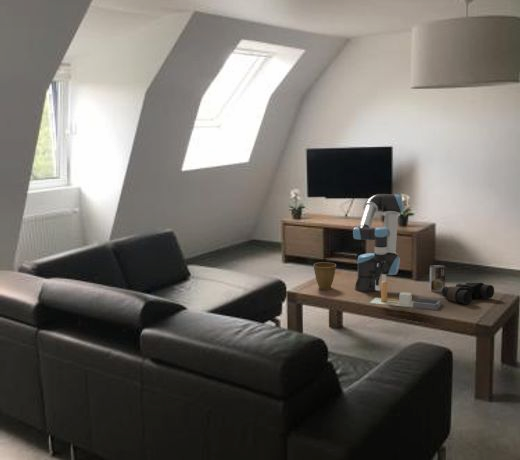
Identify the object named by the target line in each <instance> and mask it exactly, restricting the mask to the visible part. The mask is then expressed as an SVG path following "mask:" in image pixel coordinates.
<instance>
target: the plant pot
mask: <svg viewBox="0 0 520 460" xmlns="http://www.w3.org/2000/svg"><path fill="white" fill-rule="evenodd" d="M336 269H337V264H336V263H334V262H325V261H323V262H322V261H321V262H316V263H314V264H313V271H314V275H315V280H316V283H317V286H318V288H319V289H320V288H321V289H320V290H329V288H330V289H331V287H332V285H333V282H334V278H335V274H336Z"/></svg>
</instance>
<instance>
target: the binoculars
mask: <svg viewBox="0 0 520 460" xmlns="http://www.w3.org/2000/svg"><path fill="white" fill-rule="evenodd" d="M441 295H442V297H444V298H446V300H447V301H449V302H453V303H456V304H464V305H469V304H470V303H471V302H472V300H473V299H476V300H481V298H482V299H483V298H485V299H491V298H493V297H494V295H495V287H494V286H493V285H492V284H485V283H483V282H477V281H476V282H475V281H469V282H466V283H465V284H462V283H457V284H456V285H455V286H445V287H444V288H443V289H442V292H441Z"/></svg>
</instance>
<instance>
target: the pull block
mask: <svg viewBox="0 0 520 460" xmlns="http://www.w3.org/2000/svg"><path fill="white" fill-rule="evenodd" d="M412 295H413V293H412V292H407V291H405V292H404V291H401V292H400V293H399V296H398V297H399V299H395V298H394V299H393V298H388V281H387V280H386V281H382V280H381V281H380V298H381V302H387V301H395V302H399V304H401V305H410V304H411V303H412V302H413V301H412V299H413V297H412Z"/></svg>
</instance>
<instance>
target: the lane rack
mask: <svg viewBox="0 0 520 460" xmlns="http://www.w3.org/2000/svg"><path fill="white" fill-rule="evenodd" d="M369 304H370V305H371V304H372V305H376V304H377V305H378V304H380V305H387V306H398V307H405V308H415V309H422V310H423V309H425V310H433V311H438V310H439V308H440V307H441V306H442V299H438V298H427V297H426V298H425V297H416V301H412V303H411V304H410V305H401V304H399V302H395V301H387V302H381V297H374V299H372V300H371V301H369Z"/></svg>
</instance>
